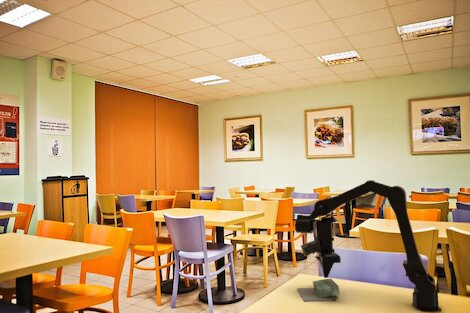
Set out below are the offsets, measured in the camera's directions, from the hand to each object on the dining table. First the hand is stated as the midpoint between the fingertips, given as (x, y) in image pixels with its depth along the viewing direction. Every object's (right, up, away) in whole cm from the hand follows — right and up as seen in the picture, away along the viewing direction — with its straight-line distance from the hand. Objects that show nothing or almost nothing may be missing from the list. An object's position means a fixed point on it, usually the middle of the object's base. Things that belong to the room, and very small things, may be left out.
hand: (325, 277), depth 134 cm
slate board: (-4, -6, 0) cm, 8 cm away
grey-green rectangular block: (+3, -3, 0) cm, 5 cm away
